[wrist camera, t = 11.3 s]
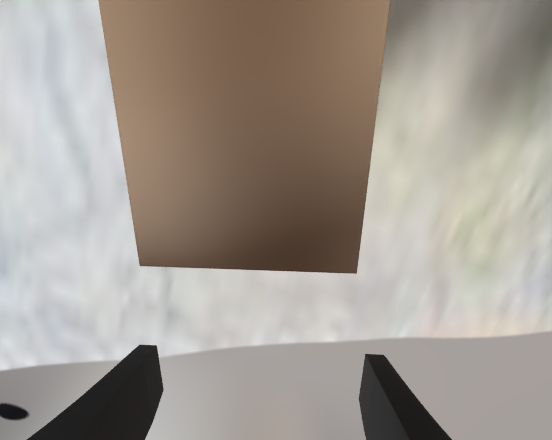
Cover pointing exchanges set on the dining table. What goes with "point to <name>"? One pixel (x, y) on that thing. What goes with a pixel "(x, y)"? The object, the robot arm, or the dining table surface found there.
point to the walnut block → (246, 128)
